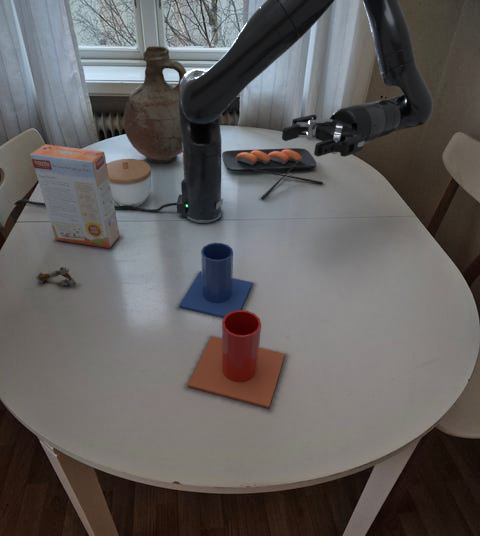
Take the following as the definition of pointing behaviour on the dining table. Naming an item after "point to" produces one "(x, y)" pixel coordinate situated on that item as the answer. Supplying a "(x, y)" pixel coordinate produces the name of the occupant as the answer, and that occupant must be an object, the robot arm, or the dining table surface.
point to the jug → (155, 109)
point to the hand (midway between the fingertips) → (299, 142)
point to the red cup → (240, 345)
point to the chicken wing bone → (62, 271)
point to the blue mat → (200, 304)
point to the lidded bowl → (129, 181)
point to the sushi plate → (270, 161)
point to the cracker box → (77, 194)
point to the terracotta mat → (249, 391)
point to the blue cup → (217, 272)
